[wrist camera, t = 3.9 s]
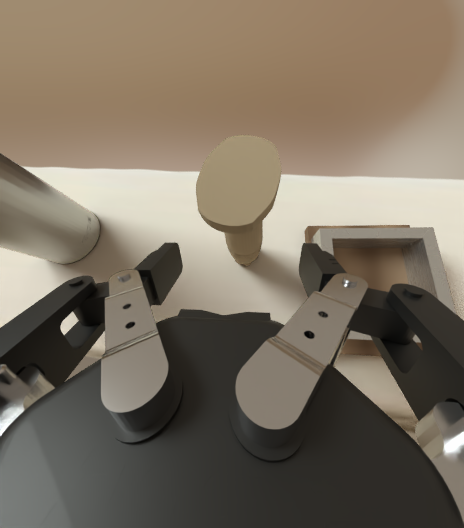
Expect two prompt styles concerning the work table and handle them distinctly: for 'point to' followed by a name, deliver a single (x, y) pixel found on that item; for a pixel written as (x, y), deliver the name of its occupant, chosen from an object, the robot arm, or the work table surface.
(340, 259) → the board
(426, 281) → the collar
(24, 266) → the work table surface
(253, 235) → the handle
